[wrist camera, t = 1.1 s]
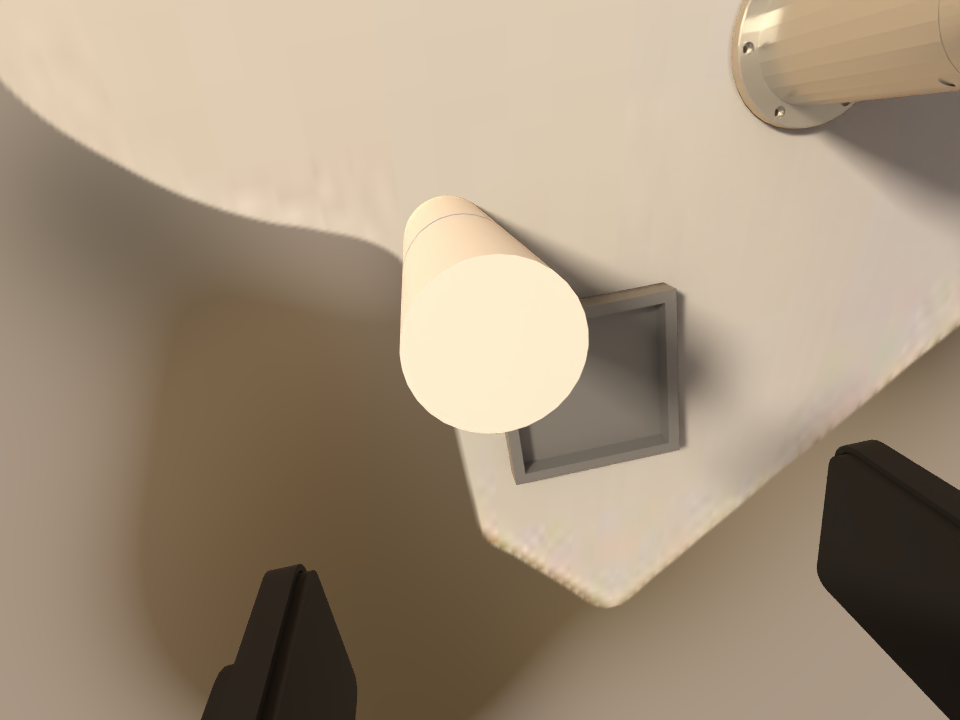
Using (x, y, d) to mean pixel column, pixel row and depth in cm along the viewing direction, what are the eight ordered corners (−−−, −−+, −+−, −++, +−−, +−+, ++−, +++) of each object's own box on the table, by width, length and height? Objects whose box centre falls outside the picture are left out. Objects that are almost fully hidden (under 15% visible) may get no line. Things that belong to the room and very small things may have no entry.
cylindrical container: (483, 187, 42) (577, 234, 18) (498, 274, 44) (597, 411, 21) (394, 205, 41) (377, 277, 18) (415, 292, 44) (423, 450, 21)
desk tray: (663, 282, 46) (676, 289, 44) (667, 437, 53) (679, 449, 50) (486, 317, 46) (489, 326, 43) (511, 470, 52) (516, 485, 50)
